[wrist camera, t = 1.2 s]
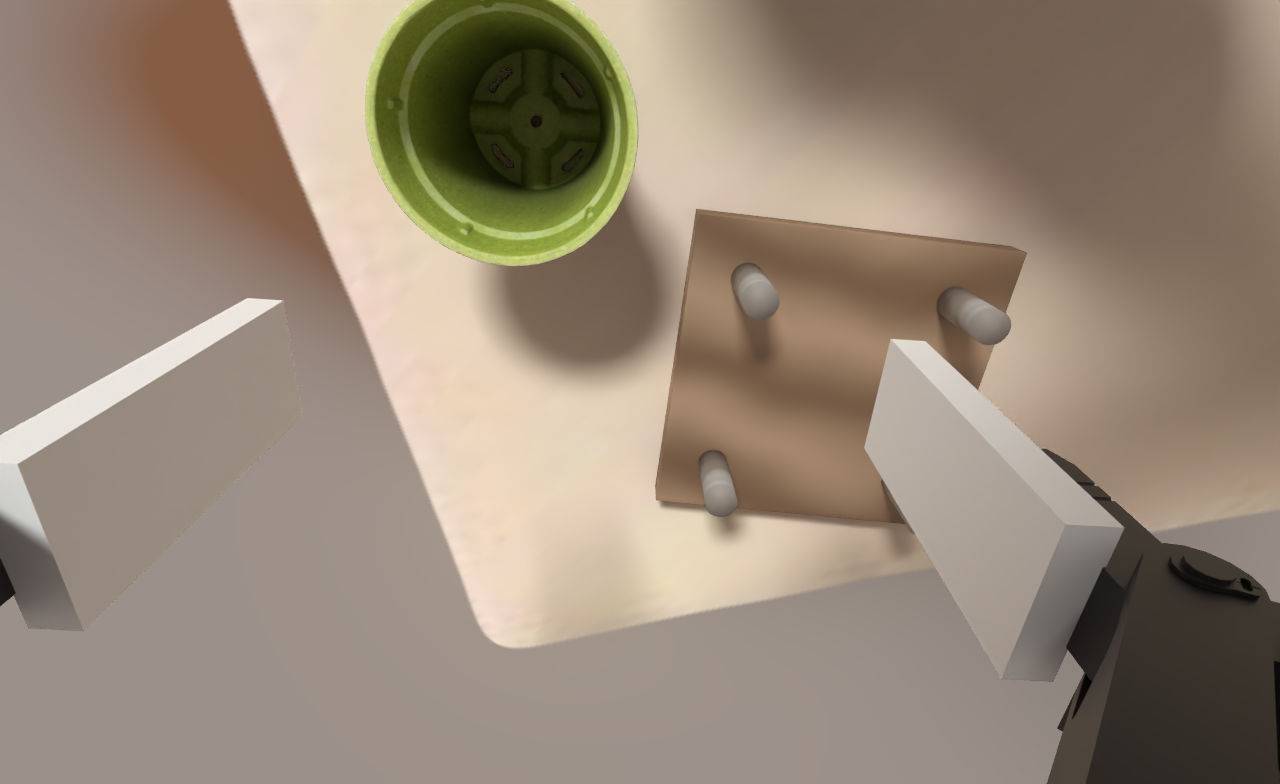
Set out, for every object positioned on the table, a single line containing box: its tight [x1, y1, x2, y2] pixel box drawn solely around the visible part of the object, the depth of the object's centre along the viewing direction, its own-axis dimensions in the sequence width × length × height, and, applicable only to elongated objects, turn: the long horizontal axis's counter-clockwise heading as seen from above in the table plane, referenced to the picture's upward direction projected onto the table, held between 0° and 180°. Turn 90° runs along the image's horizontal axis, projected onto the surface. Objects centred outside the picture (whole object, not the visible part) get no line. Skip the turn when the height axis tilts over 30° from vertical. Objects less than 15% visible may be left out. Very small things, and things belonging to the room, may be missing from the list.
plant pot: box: [365, 0, 638, 266], centre depth 27 cm, size 9×9×9 cm
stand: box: [655, 209, 1027, 534], centre depth 34 cm, size 16×16×6 cm
